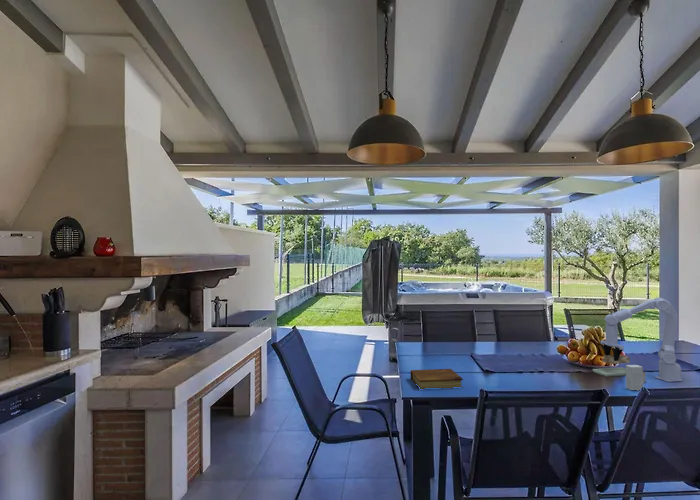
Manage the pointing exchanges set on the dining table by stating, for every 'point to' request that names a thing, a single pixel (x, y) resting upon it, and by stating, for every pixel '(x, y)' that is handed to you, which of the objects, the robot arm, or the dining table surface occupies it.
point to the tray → (611, 371)
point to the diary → (436, 378)
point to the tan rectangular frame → (611, 360)
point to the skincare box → (634, 377)
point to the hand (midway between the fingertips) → (612, 359)
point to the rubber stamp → (644, 378)
